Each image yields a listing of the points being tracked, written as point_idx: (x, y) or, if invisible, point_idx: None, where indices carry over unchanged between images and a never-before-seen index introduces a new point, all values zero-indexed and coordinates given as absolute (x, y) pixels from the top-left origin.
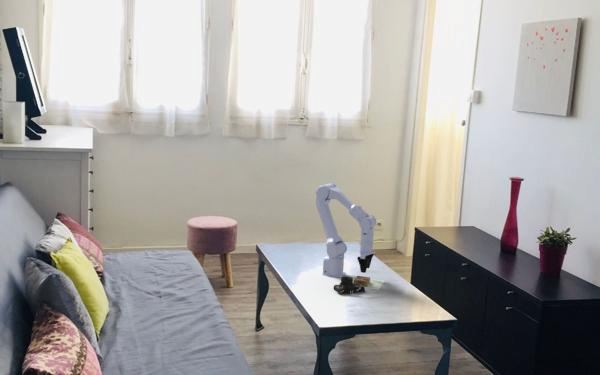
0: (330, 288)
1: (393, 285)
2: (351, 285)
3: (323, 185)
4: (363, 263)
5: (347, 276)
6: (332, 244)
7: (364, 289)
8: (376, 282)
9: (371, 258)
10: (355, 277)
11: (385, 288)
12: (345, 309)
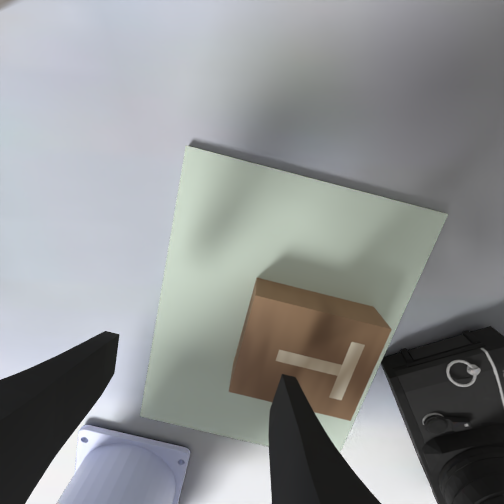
0: (401, 500)
1: (278, 64)
2: None
3: None
4: None
5: (155, 418)
6: None
7: (502, 335)
8: (247, 225)
9: (12, 413)
10: (161, 372)
11: (375, 150)
12: None
